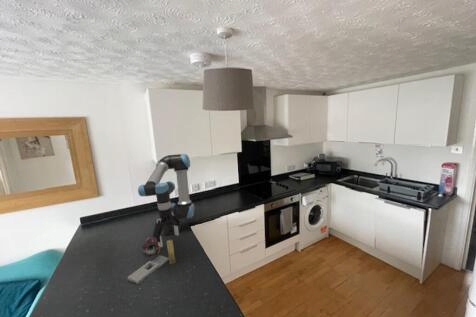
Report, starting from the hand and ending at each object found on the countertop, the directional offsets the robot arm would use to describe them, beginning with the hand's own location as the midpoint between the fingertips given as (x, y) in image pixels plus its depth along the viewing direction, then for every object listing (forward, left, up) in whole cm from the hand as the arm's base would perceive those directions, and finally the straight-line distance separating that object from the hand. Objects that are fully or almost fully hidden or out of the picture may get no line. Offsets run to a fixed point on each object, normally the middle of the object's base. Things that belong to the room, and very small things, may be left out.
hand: (169, 240), depth 125 cm
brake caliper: (-4, -23, -16) cm, 28 cm away
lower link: (+5, -9, -15) cm, 19 cm away
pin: (0, 0, -15) cm, 15 cm away
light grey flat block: (+14, -9, -15) cm, 23 cm away
